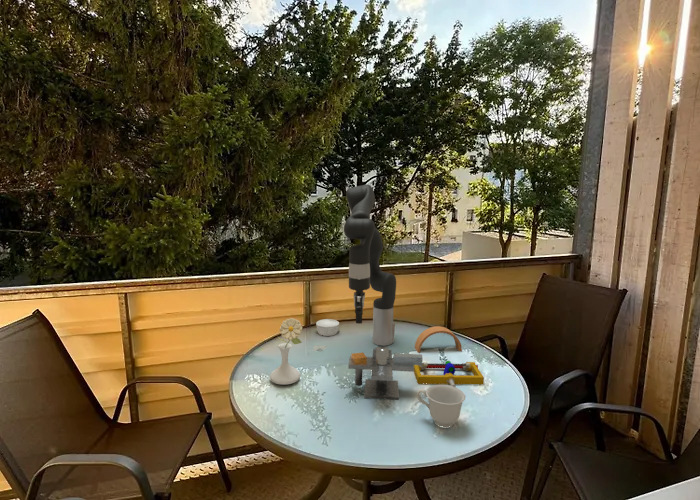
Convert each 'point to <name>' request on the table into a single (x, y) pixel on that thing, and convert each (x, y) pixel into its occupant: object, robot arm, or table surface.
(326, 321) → the ramekin
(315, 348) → the mounting bracket
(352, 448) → the table surface
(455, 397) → the teacup
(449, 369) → the mechanical clamp
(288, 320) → the flower in vase
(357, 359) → the pin
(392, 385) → the metal cross stand
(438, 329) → the arch
